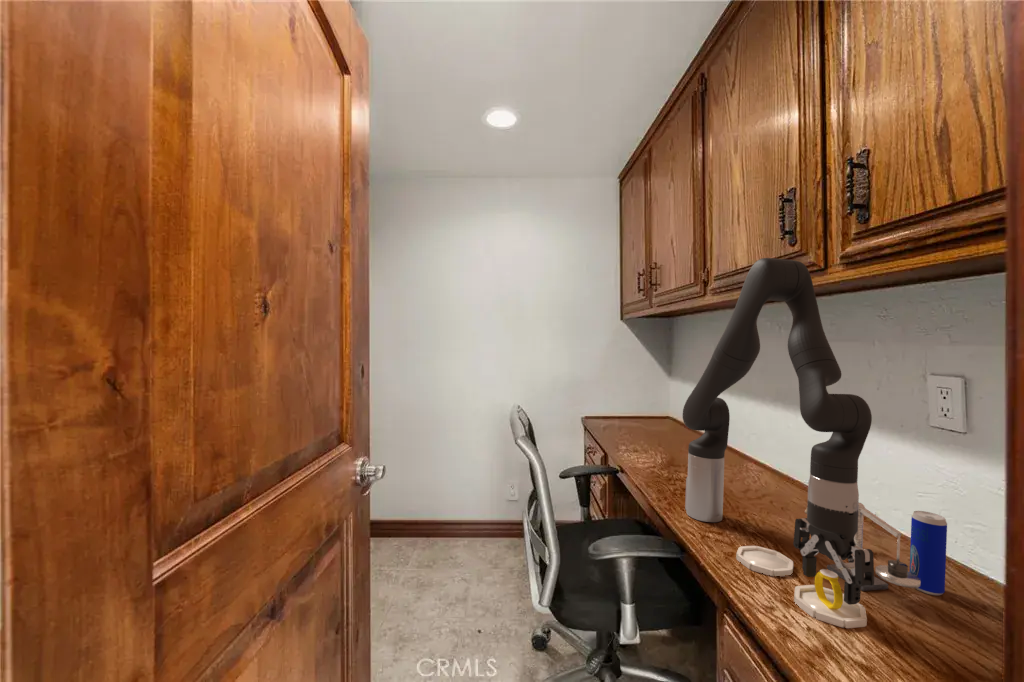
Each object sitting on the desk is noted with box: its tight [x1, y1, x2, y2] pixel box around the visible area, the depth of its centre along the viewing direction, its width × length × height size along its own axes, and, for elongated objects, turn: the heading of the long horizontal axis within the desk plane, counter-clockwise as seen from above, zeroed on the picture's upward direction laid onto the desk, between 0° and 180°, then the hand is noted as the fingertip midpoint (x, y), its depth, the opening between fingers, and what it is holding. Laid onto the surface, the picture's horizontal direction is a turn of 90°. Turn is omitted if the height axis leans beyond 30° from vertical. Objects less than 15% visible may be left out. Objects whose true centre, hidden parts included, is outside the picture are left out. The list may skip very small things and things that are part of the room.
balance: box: [826, 502, 921, 592], centre depth 90 cm, size 22×6×18 cm, turn 10°
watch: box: [814, 568, 844, 609], centre depth 80 cm, size 6×3×6 cm, turn 176°
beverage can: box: [909, 510, 948, 597], centre depth 87 cm, size 5×5×15 cm
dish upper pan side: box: [735, 545, 794, 577], centre depth 95 cm, size 11×11×1 cm
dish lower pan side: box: [793, 584, 868, 629], centre depth 79 cm, size 11×11×1 cm
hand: (829, 588), depth 79 cm, fingers open, 8 cm apart
